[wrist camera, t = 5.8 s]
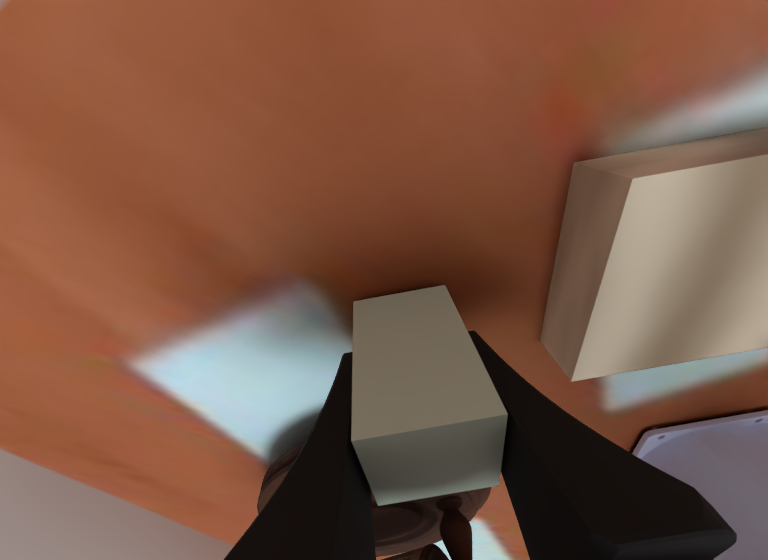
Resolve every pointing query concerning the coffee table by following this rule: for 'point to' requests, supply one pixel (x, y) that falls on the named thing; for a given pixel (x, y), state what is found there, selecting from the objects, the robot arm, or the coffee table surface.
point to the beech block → (662, 258)
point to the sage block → (422, 399)
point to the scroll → (406, 519)
